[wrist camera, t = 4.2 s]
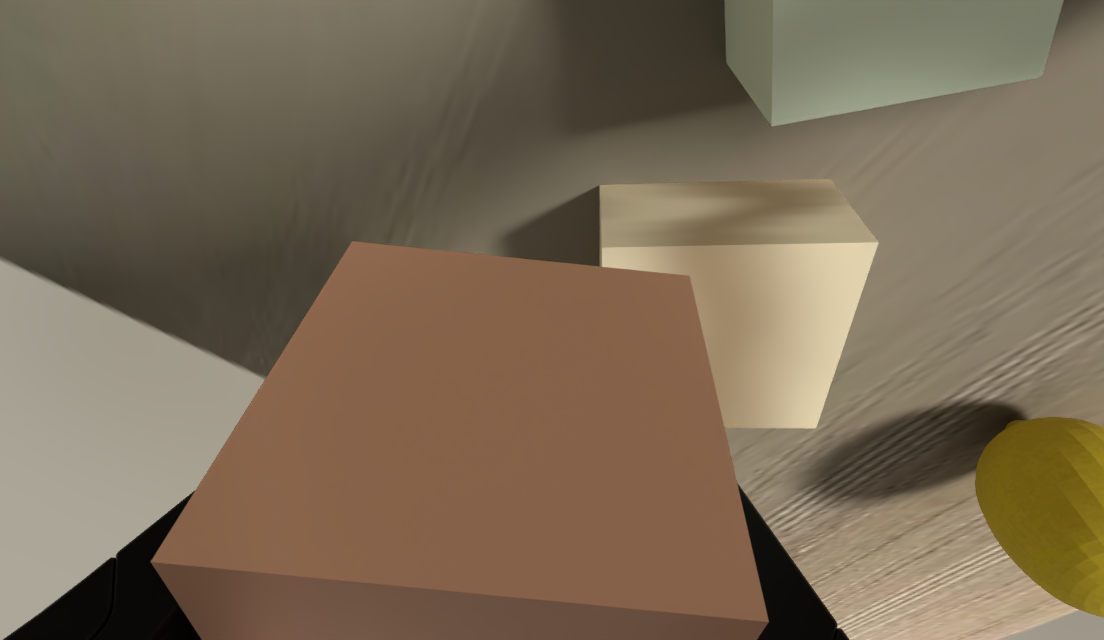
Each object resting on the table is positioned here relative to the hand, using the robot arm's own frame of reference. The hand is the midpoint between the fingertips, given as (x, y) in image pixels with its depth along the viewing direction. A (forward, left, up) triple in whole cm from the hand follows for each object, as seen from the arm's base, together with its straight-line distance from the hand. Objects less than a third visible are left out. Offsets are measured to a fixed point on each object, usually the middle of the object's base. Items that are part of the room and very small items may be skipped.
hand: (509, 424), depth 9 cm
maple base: (-6, +4, -11) cm, 13 cm away
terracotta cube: (0, 0, -1) cm, 1 cm away
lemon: (-20, +10, -11) cm, 24 cm away
